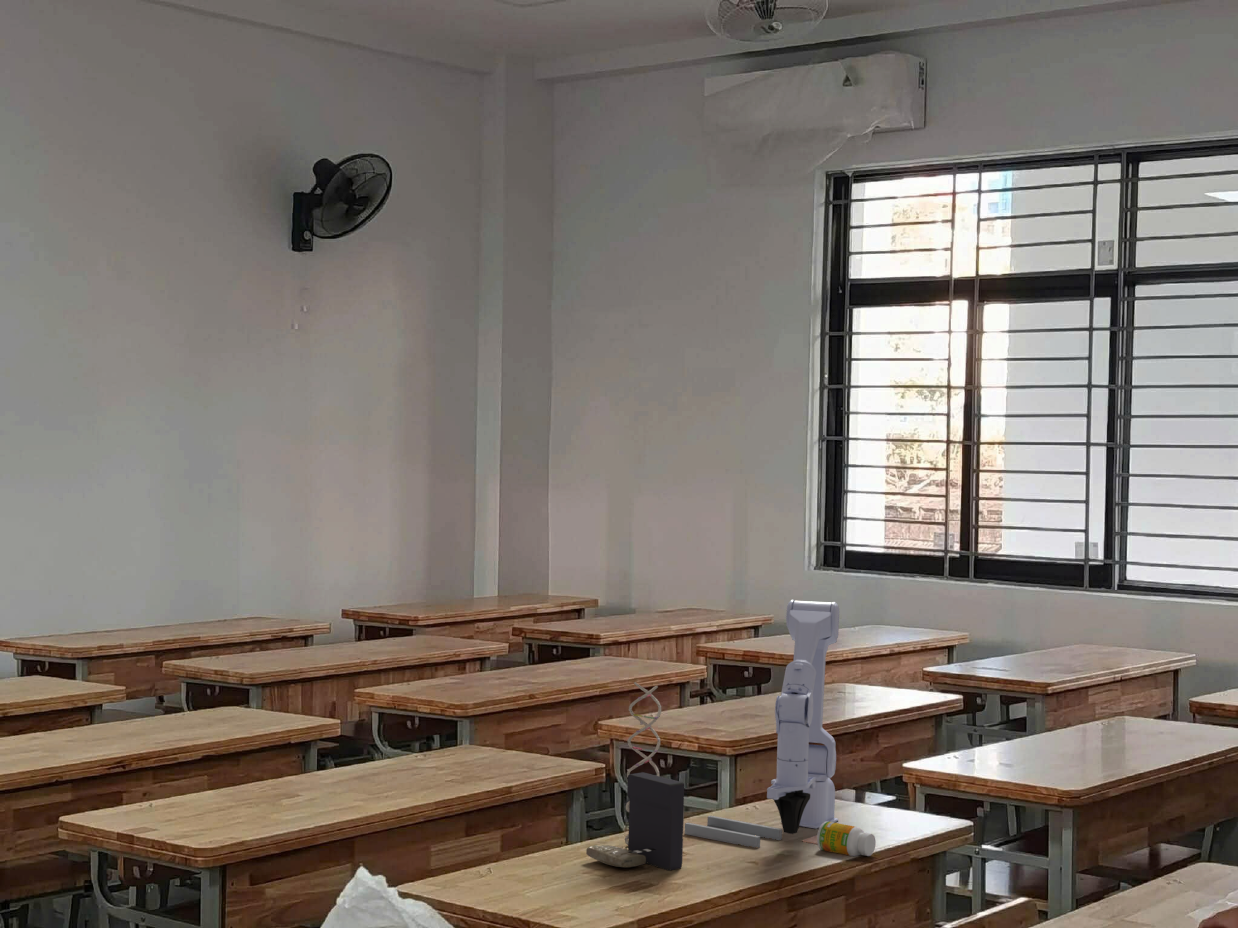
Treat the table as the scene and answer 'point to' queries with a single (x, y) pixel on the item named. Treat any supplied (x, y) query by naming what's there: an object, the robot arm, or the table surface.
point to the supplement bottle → (845, 839)
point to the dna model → (647, 726)
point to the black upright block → (656, 819)
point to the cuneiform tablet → (617, 855)
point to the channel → (733, 831)
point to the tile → (811, 840)
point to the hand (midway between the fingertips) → (790, 832)
